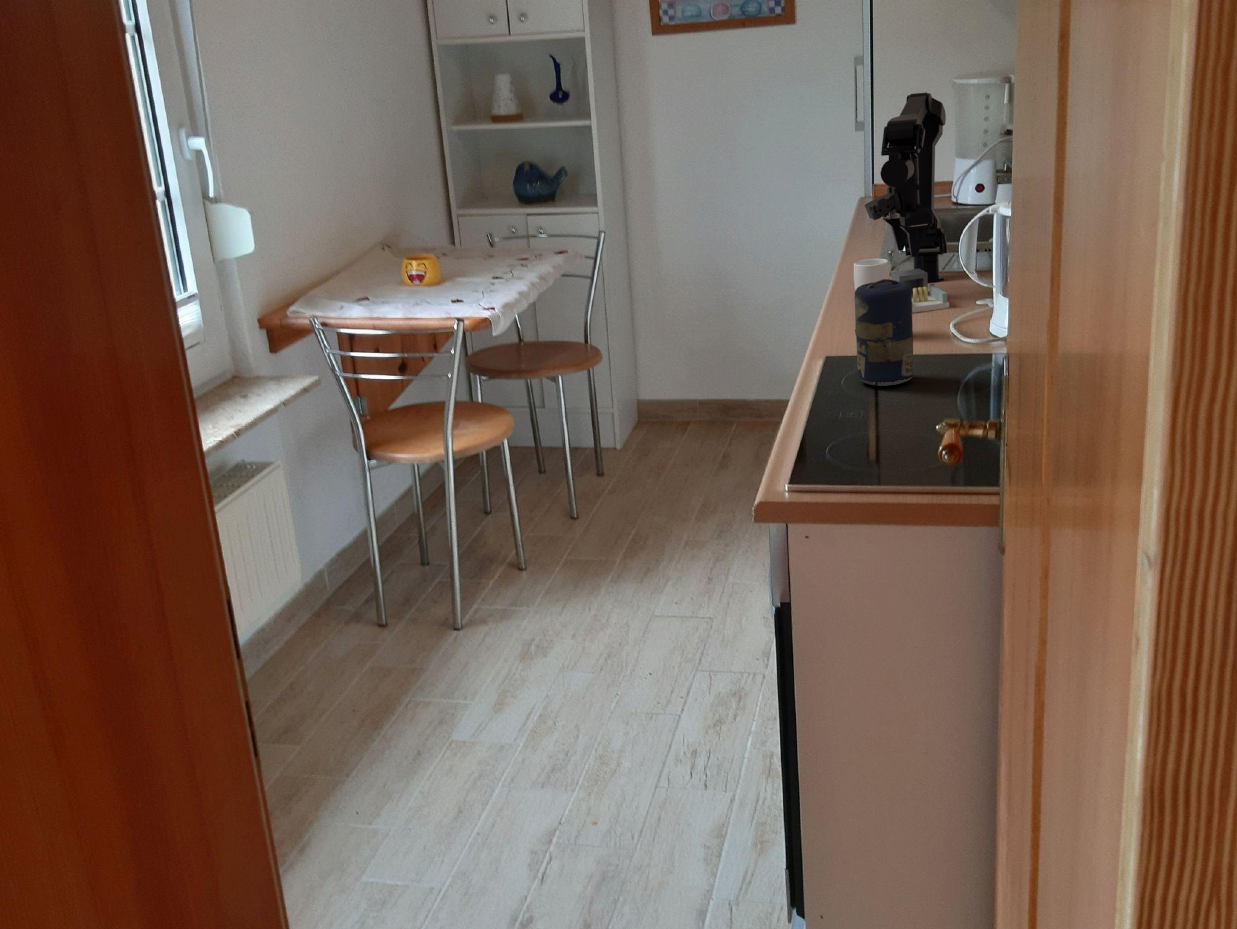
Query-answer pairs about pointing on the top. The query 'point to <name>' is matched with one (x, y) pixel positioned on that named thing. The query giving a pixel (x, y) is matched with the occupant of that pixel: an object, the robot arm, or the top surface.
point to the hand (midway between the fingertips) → (907, 253)
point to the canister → (884, 331)
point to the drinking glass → (870, 271)
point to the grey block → (912, 278)
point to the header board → (928, 299)
